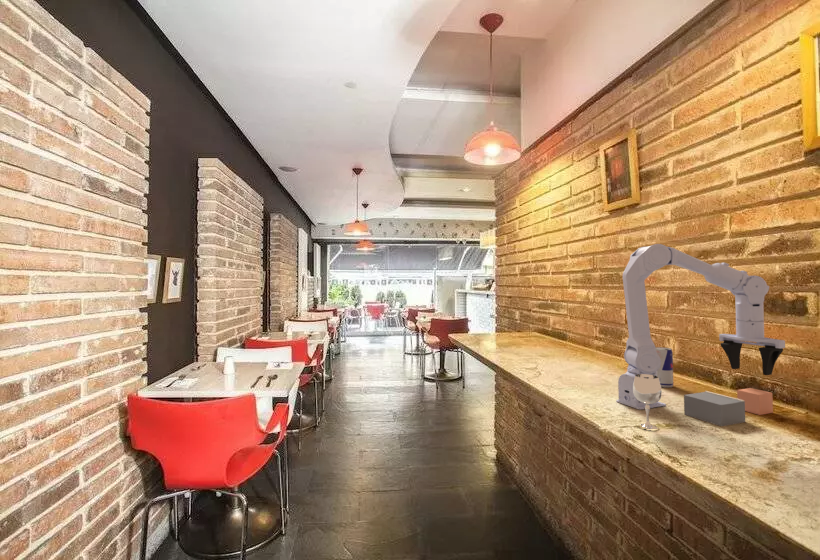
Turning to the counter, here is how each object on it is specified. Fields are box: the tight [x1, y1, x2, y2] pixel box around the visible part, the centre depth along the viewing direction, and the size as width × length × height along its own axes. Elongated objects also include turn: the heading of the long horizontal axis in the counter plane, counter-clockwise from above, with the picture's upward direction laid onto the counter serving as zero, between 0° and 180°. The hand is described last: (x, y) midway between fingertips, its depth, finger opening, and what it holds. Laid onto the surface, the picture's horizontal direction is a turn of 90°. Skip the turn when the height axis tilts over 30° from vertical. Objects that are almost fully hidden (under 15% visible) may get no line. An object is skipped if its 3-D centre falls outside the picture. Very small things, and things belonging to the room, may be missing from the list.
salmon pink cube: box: [736, 387, 774, 416], centre depth 103 cm, size 5×5×5 cm
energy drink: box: [655, 346, 674, 389], centre depth 129 cm, size 5×5×12 cm
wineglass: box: [633, 374, 662, 429], centre depth 93 cm, size 6×6×12 cm
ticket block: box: [683, 390, 746, 427], centre depth 99 cm, size 8×9×5 cm
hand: (751, 371), depth 106 cm, fingers open, 7 cm apart
